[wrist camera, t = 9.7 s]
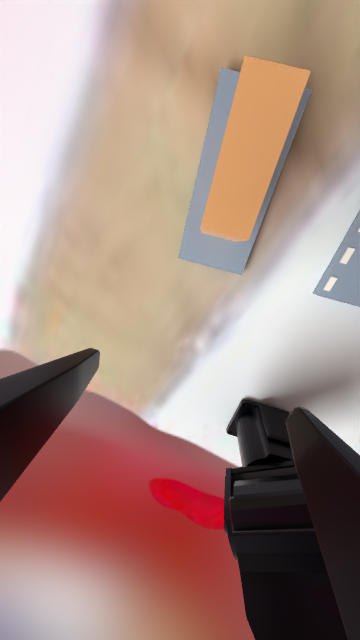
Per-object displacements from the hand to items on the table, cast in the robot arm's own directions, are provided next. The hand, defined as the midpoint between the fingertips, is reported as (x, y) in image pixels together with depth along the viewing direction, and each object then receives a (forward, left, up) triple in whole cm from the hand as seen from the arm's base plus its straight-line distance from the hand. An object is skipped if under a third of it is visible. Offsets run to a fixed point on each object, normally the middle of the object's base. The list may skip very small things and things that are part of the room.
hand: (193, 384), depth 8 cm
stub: (+10, 0, -12) cm, 16 cm away
